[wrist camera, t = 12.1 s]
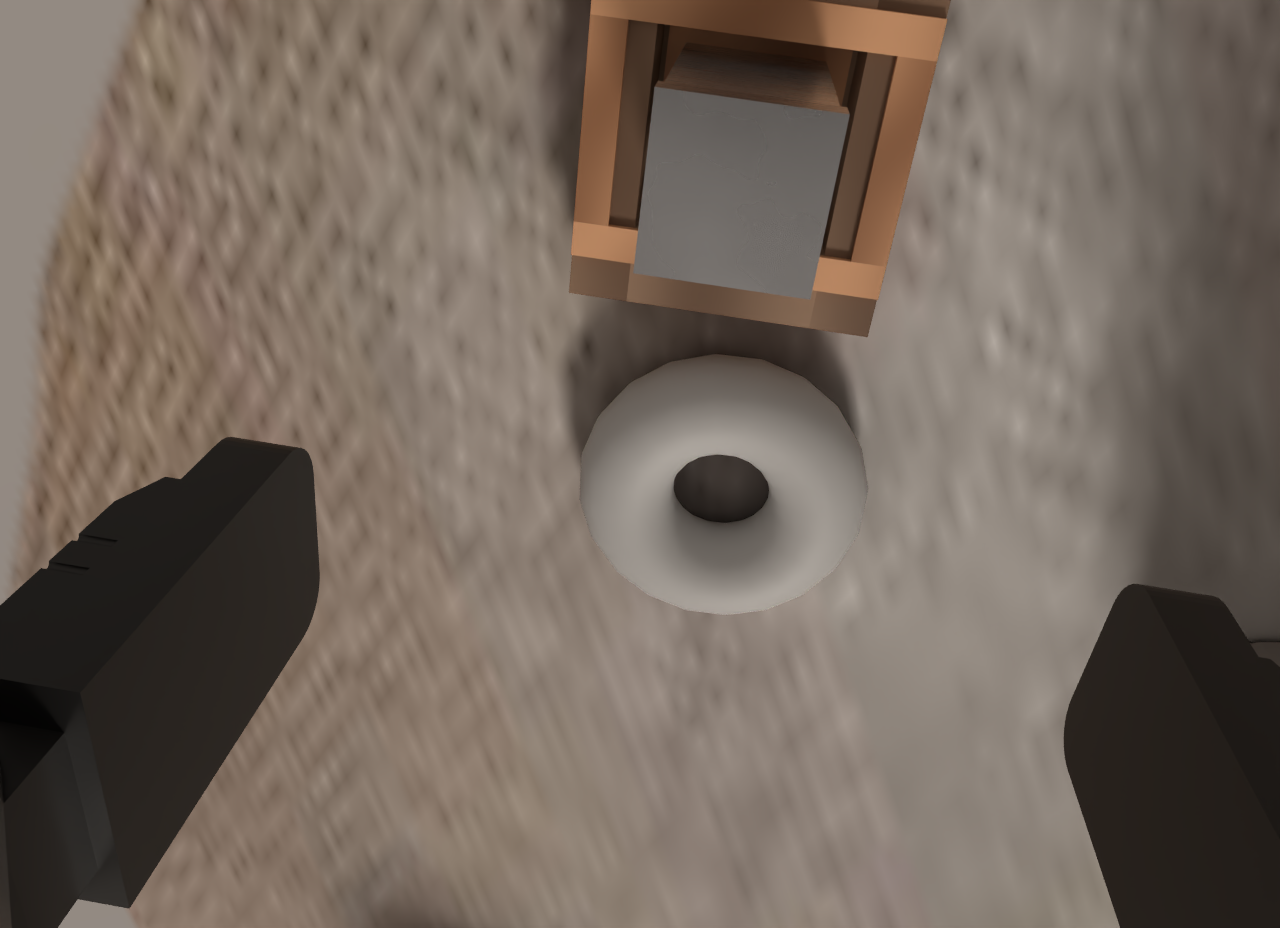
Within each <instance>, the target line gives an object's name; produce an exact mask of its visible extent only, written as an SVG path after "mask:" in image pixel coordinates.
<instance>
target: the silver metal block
mask: <svg viewBox="0 0 1280 928" xmlns="http://www.w3.org/2000/svg"><path fill="white" fill-rule="evenodd" d="M849 116H850V113H849V110H848V108H847V107H841V106H840V104H839V101H838V97H837V94H836V91H835V88H834V84H833V81H832V78H831V75H830V72H829V68H828V65H827V62H825V61H817V60H810V59H803V58H796V57H789V56H782V55H774V54H767V53H760V52H753V51H746V50H739V49H732V48H724V47H717V46H710V45H703V44H696V43H689V42H686V44H685V46H684V48H683V50H682V51H681V53H680V55H679V57H678V59H677V60H676V62H675V64H674V66H673V68H672V69H671V71H670V73H669V75H668V77H667V78H666V80H665V81H658V82H657V84H656V85H655V88H654V97H653V106H652V114H651V123H650V132H649V140H648V149H647V158H646V166H645V175H644V184H643V192H642V201H641V209H640V218H639V227H638V235H637V244H636V253H635V261H634V270H633V273H635V274H642V275H648V276H655V277H662V278H668V279H675V280H682V281H688V282H695V283H702V284H708V285H715V286H722V287H728V288H735V289H742V290H748V291H755V292H762V293H769V294H775V295H782V296H789V297H795V298H802V299H809V300H810V299H811V294H812V290H813V285H814V280H815V276H816V271H817V266H818V262H819V257H820V252H821V247H822V243H823V238H824V233H825V229H826V224H827V219H828V215H829V210H830V205H831V201H832V196H833V191H834V186H835V182H836V177H837V172H838V168H839V163H840V158H841V154H842V149H843V144H844V140H845V135H846V130H847V126H848V121H849Z"/></svg>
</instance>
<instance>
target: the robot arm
mask: <svg viewBox="0 0 1280 928" xmlns="http://www.w3.org/2000/svg"><path fill="white" fill-rule="evenodd" d="M319 580H320V572H319V555H318V539H317V522H316V506H315V490H314V473H313V466H312V461H311V458H310V456H309V454H308V452H307V451H306V450H305V449H302V448H297V447H291V446H285V445H278V444H272V443H266V442H260V441H253V440H247V439H241V438H235V437H227V438H225V439H223V440H221V441H220V442H219V443H218V444H217V445H216V446H214V447H213V448H212V449H211V450H210V451H209V452H208V453H207V454H206V455H205V456H204V457H203V458H202V459H201V460H200V461H199V462H198V463H197V464H196V465H195V466H194V467H193V468H192V469H191V470H190V471H189V472H188V473H187V474H186V475H185V476H184V477H183V478H182V479H175V478H169V477H164V478H162V479H160V480H158V481H156V482H154V483H152V484H150V485H148V486H146V487H143V488H141V489H139V490H137V491H135V492H133V493H131V494H129V495H127V496H125V497H123V498H121V499H118V500H116V501H114V502H113V503H112V504H111V505H110V506H109V507H108V508H107V509H106V510H105V511H103V512H102V513H101V514H100V515H99V516H98V517H97V518H96V519H95V520H94V521H92V522H91V523H90V524H89V525H88V526H87V527H86V528H85V529H84V530H83V531H82V532H80V533H79V538H78V541H73V540H72V541H71V542H69V543H68V544H67V545H66V546H65V547H64V548H63V549H62V550H61V551H60V552H58V553H57V554H56V555H55V556H54V557H53V558H52V559H51V560H50V561H49V566H48V568H47V569H42V568H41V569H40V570H39V571H38V572H37V573H35V574H34V575H33V576H32V577H31V578H30V579H29V580H28V581H27V582H26V583H24V584H23V585H22V586H21V587H20V588H19V589H18V590H17V591H16V592H15V593H13V594H12V595H11V596H10V597H9V598H8V599H7V600H6V601H5V602H4V603H2V604H1V605H0V928H58V926H59V925H60V924H61V922H62V921H63V919H64V918H65V916H66V915H67V914H68V912H69V911H70V909H71V908H72V906H73V905H74V903H75V902H76V901H77V899H80V900H86V901H91V902H97V903H102V904H108V905H113V906H119V907H124V908H130V907H131V905H132V904H133V902H134V901H135V899H136V897H137V896H138V894H139V893H140V891H141V890H142V888H143V886H144V885H145V883H146V882H147V880H148V879H149V877H150V876H151V874H152V872H153V871H154V869H155V868H156V866H157V865H158V863H159V862H160V860H161V858H162V857H163V855H164V854H165V852H166V851H167V849H168V847H169V846H170V844H171V843H172V841H173V840H174V838H175V837H176V835H177V833H178V832H179V830H180V829H181V827H182V826H183V824H184V823H185V821H186V819H187V818H188V816H189V815H190V813H191V812H192V810H193V808H194V807H195V805H196V804H197V802H198V801H199V799H200V798H201V796H202V794H203V793H204V791H205V790H206V788H207V787H208V785H209V784H210V782H211V780H212V779H213V777H214V776H215V774H216V773H217V771H218V770H219V768H220V766H221V765H222V763H223V762H224V760H225V759H226V757H227V755H228V754H229V752H230V751H231V749H232V748H233V746H234V745H235V743H236V741H237V740H238V738H239V737H240V735H241V734H242V732H243V731H244V729H245V727H246V726H247V724H248V723H249V721H250V720H251V718H252V716H253V715H254V713H255V712H256V710H257V709H258V707H259V706H260V704H261V702H262V701H263V699H264V698H265V696H266V695H267V693H268V692H269V690H270V688H271V687H272V685H273V684H274V682H275V681H276V679H277V678H278V676H279V674H280V673H281V671H282V670H283V668H284V667H285V665H286V663H287V662H288V660H289V659H290V657H291V656H292V654H293V653H294V651H295V649H296V648H297V646H298V645H299V643H300V642H301V640H302V639H303V637H304V635H305V633H306V631H307V629H308V627H309V625H310V622H311V620H312V617H313V614H314V610H315V606H316V602H317V597H318V591H319ZM1064 753H1065V760H1066V765H1067V769H1068V772H1069V775H1070V778H1071V781H1072V784H1073V787H1074V790H1075V793H1076V796H1077V799H1078V802H1079V805H1080V808H1081V811H1082V814H1083V817H1084V820H1085V823H1086V826H1087V829H1088V832H1089V835H1090V838H1091V841H1092V844H1093V847H1094V850H1095V853H1096V856H1097V859H1098V862H1099V865H1100V868H1101V871H1102V874H1103V877H1104V880H1105V883H1106V886H1107V889H1108V892H1109V895H1110V898H1111V901H1112V904H1113V907H1114V910H1115V913H1116V916H1117V919H1118V922H1119V925H1120V928H1280V642H1258V643H1251V644H1250V642H1249V641H1248V639H1247V638H1246V636H1245V635H1244V633H1243V631H1242V630H1241V628H1240V627H1239V625H1238V623H1237V622H1236V620H1235V619H1234V617H1233V616H1232V614H1231V612H1230V611H1229V609H1228V608H1227V606H1226V605H1225V604H1224V603H1223V602H1222V601H1221V600H1220V599H1219V598H1216V597H1214V596H1209V595H1202V594H1196V593H1190V592H1184V591H1177V590H1171V589H1165V588H1159V587H1152V586H1146V585H1140V584H1131V585H1128V586H1127V587H1126V588H1124V589H1123V590H1122V591H1121V592H1120V594H1119V595H1118V597H1117V598H1116V600H1115V602H1114V604H1113V606H1112V608H1111V611H1110V613H1109V615H1108V617H1107V620H1106V622H1105V624H1104V627H1103V629H1102V631H1101V633H1100V636H1099V638H1098V640H1097V642H1096V645H1095V647H1094V649H1093V651H1092V654H1091V656H1090V658H1089V660H1088V663H1087V665H1086V667H1085V669H1084V672H1083V674H1082V676H1081V678H1080V681H1079V683H1078V685H1077V687H1076V690H1075V692H1074V694H1073V696H1072V699H1071V701H1070V704H1069V707H1068V711H1067V715H1066V720H1065V728H1064Z"/></svg>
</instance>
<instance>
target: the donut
mask: <svg viewBox="0 0 1280 928" xmlns="http://www.w3.org/2000/svg"><path fill="white" fill-rule="evenodd" d="M715 454H719V455H728V456H736V457H738V458H741V459H743V460H745V461H748V462H750V463H751V464H752V465H754V466H755V467H756V468H757V469H759V470H760V471H761V472H762V474H763V475H764V477H765V479H766V480H767V482H768V486H769V495H768V499H767V501H766V502H765V504H764V506H763V507H762V508H761V509H760V510H759V511H758V512H757V513H755V514H754V515H753V516H750V517H748V518H746V519H744V520H741V521H735V522H728V523H721V522H713V521H707V520H704V519H702V518H699V517H697V516H694V515H692V514H691V513H689V512H688V511H687V510H686V509H684V508H683V507H682V505H681V504H680V502H679V501H678V499H677V498H676V496H675V492H674V479H675V477H676V475H677V473H678V472H679V471H680V470H681V469H682V468H683V467H684V466H685V465H686V464H687V463H689V462H691V461H693V460H695V459H697V458H699V457H703V456H709V455H715ZM867 492H868V485H867V479H866V472H865V466H864V460H863V453H862V448H861V446H860V445H859V443H858V441H857V439H856V437H855V436H854V434H853V432H852V430H851V429H850V427H849V425H848V423H847V422H846V420H845V418H844V416H843V415H842V413H841V411H840V409H839V408H838V406H837V405H836V404H835V403H833V402H832V401H831V400H830V399H829V398H828V397H826V396H825V395H824V394H823V393H822V392H821V391H820V390H818V389H817V388H816V387H815V386H814V385H813V384H811V383H810V382H809V381H808V380H807V379H806V378H804V377H802V376H800V375H798V374H795V373H793V372H791V371H788V370H786V369H784V368H781V367H779V366H777V365H774V364H772V363H770V362H767V361H765V360H763V359H756V358H747V357H738V356H729V355H720V354H712V355H706V356H701V357H695V358H690V359H684V360H678V361H673V362H669V363H667V364H665V365H663V366H661V367H659V368H657V369H655V370H653V371H651V372H649V373H648V374H646V375H644V376H642V377H640V378H638V379H636V380H634V381H632V382H630V383H629V384H628V385H627V386H626V388H625V389H624V390H623V391H622V392H621V393H620V394H619V395H618V396H617V397H616V398H615V399H614V400H613V401H612V402H611V403H610V404H609V405H608V406H607V407H606V408H605V409H604V410H603V411H602V413H601V414H600V415H599V417H598V418H597V420H596V422H595V425H594V427H593V429H592V432H591V434H590V436H589V438H588V441H587V443H586V445H585V447H584V450H583V452H582V455H581V476H580V503H581V506H582V509H583V512H584V516H585V519H586V522H587V525H588V528H589V531H590V534H591V537H592V538H593V540H594V541H595V542H596V544H597V545H598V546H599V548H600V549H601V550H602V552H603V553H604V555H605V556H606V557H607V559H608V560H609V561H610V563H611V564H612V565H613V567H614V568H615V570H616V571H617V572H618V573H619V574H621V575H622V576H623V577H625V578H626V579H627V580H629V581H630V582H631V583H633V584H634V585H635V586H637V587H638V588H639V589H641V590H642V591H643V592H645V593H646V594H647V595H649V596H652V597H654V598H657V599H659V600H662V601H664V602H667V603H669V604H672V605H674V606H677V607H679V608H682V609H684V610H690V611H698V612H705V613H713V614H721V615H730V614H738V613H747V612H755V611H763V610H767V609H770V608H772V607H775V606H777V605H780V604H782V603H785V602H787V601H790V600H792V599H794V598H797V597H799V596H802V595H803V594H805V593H806V592H807V591H808V590H810V589H811V588H812V587H813V586H815V585H816V584H817V583H818V582H820V581H821V580H822V579H823V578H825V577H826V576H827V575H828V574H830V573H831V572H832V571H833V570H834V569H835V568H837V566H838V565H839V563H840V562H841V560H842V559H843V557H844V556H845V554H846V553H847V551H848V549H849V548H850V546H851V545H852V543H853V542H854V540H855V539H856V537H857V536H858V534H859V529H860V525H861V520H862V516H863V511H864V507H865V502H866V498H867Z"/></svg>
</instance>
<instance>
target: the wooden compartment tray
mask: <svg viewBox="0 0 1280 928" xmlns="http://www.w3.org/2000/svg"><path fill="white" fill-rule="evenodd" d="M950 1H951V0H591V11H590V24H589V37H588V49H587V62H586V74H585V87H584V99H583V112H582V124H581V137H580V149H579V162H578V175H577V187H576V200H575V212H574V225H573V237H572V250H571V255H572V262H571V275H570V287H569V293H575V294H581V295H588V296H595V297H602V298H608V299H615V300H622V301H629V302H635V303H642V304H649V305H655V306H662V307H669V308H676V309H682V310H689V311H696V312H702V313H709V314H716V315H723V316H729V317H736V318H743V319H749V320H756V321H763V322H770V323H776V324H783V325H790V326H796V327H803V328H810V329H817V330H823V331H830V332H837V333H843V334H850V335H857V336H864V337H868V333H869V329H870V325H871V321H872V317H873V313H874V309H875V305H876V301H877V300H878V298H879V294H880V290H881V286H882V282H883V278H884V273H885V269H886V265H887V261H888V257H889V253H890V249H891V245H892V241H893V237H894V233H895V229H896V225H897V221H898V217H899V213H900V209H901V205H902V201H903V197H904V193H905V189H906V185H907V181H908V176H909V172H910V168H911V164H912V160H913V156H914V152H915V148H916V144H917V140H918V136H919V132H920V128H921V124H922V120H923V116H924V112H925V108H926V104H927V100H928V96H929V92H930V88H931V84H932V80H933V75H934V71H935V67H936V63H937V59H938V55H939V51H940V47H941V43H942V39H943V35H944V31H945V27H946V23H947V19H946V17H947V13H948V9H949V5H950ZM686 42H689V43H696V44H703V45H710V46H717V47H724V48H732V49H739V50H746V51H753V52H760V53H767V54H774V55H782V56H789V57H796V58H803V59H810V60H817V61H825V62H827V65H828V68H829V72H830V75H831V78H832V81H833V84H834V88H835V91H836V94H837V97H838V101H839V104H840V106H841V107H847V108H848V110H849V113H850V116H849V121H848V126H847V130H846V135H845V140H844V144H843V149H842V154H841V158H840V163H839V168H838V172H837V177H836V182H835V186H834V191H833V196H832V201H831V205H830V210H829V215H828V219H827V224H826V229H825V233H824V238H823V243H822V247H821V252H820V257H819V262H818V266H817V271H816V276H815V280H814V285H813V290H812V294H811V299H810V300H809V299H802V298H795V297H789V296H782V295H775V294H769V293H762V292H755V291H748V290H742V289H735V288H728V287H722V286H715V285H708V284H702V283H695V282H688V281H682V280H675V279H668V278H662V277H655V276H648V275H642V274H635V273H633V270H634V261H635V253H636V244H637V235H638V227H639V218H640V209H641V201H642V192H643V184H644V175H645V166H646V158H647V149H648V140H649V132H650V123H651V114H652V106H653V97H654V88H655V85H656V84H657V82H658V81H665V80H666V78H667V77H668V75H669V73H670V71H671V69H672V68H673V66H674V64H675V62H676V60H677V59H678V57H679V55H680V53H681V51H682V50H683V48H684V46H685V44H686Z"/></svg>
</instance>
